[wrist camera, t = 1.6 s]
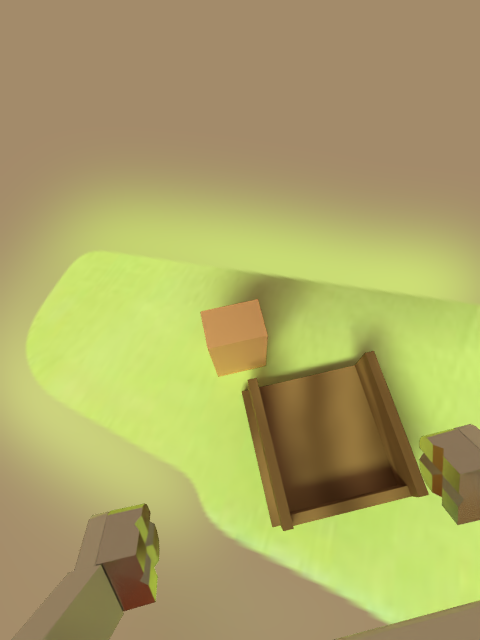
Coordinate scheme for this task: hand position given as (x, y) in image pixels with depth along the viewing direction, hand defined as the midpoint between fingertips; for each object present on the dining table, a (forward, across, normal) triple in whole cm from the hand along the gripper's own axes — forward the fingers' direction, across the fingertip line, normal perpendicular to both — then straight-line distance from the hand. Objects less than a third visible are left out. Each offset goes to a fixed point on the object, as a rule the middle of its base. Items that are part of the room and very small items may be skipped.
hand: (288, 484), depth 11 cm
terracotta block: (+27, 0, +10) cm, 29 cm away
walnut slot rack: (+20, -6, +17) cm, 27 cm away
